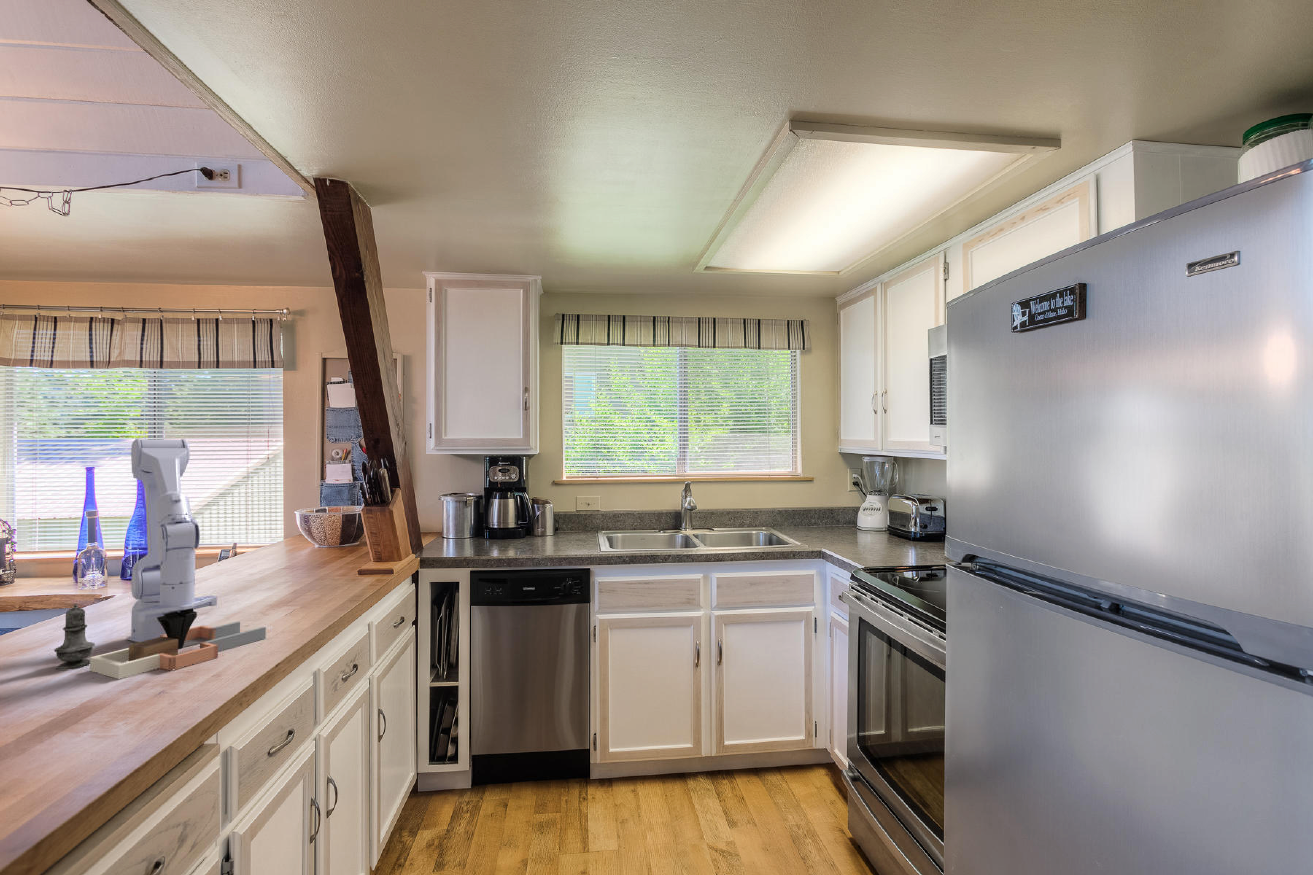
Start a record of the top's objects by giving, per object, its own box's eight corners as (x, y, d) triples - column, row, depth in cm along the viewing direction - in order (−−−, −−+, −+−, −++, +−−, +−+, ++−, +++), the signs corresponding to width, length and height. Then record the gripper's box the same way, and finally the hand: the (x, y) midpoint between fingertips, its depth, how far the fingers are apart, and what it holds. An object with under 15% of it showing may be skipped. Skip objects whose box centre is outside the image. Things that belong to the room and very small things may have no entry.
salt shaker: (70, 671, 122) (71, 608, 122) (45, 669, 123) (46, 606, 124) (102, 661, 128) (103, 600, 128) (78, 659, 129) (79, 598, 129)
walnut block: (128, 665, 126) (128, 644, 126) (162, 655, 132) (162, 636, 132) (144, 669, 124) (144, 648, 124) (177, 659, 130) (178, 639, 130)
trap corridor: (79, 667, 125) (80, 654, 125) (227, 630, 150) (227, 619, 150) (130, 682, 117) (130, 668, 117) (276, 640, 142) (276, 629, 142)
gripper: (148, 591, 124) (147, 662, 124) (226, 577, 137) (225, 641, 137) (128, 587, 127) (126, 656, 127) (205, 573, 140) (204, 636, 140)
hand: (176, 648), depth 132 cm, fingers closed
